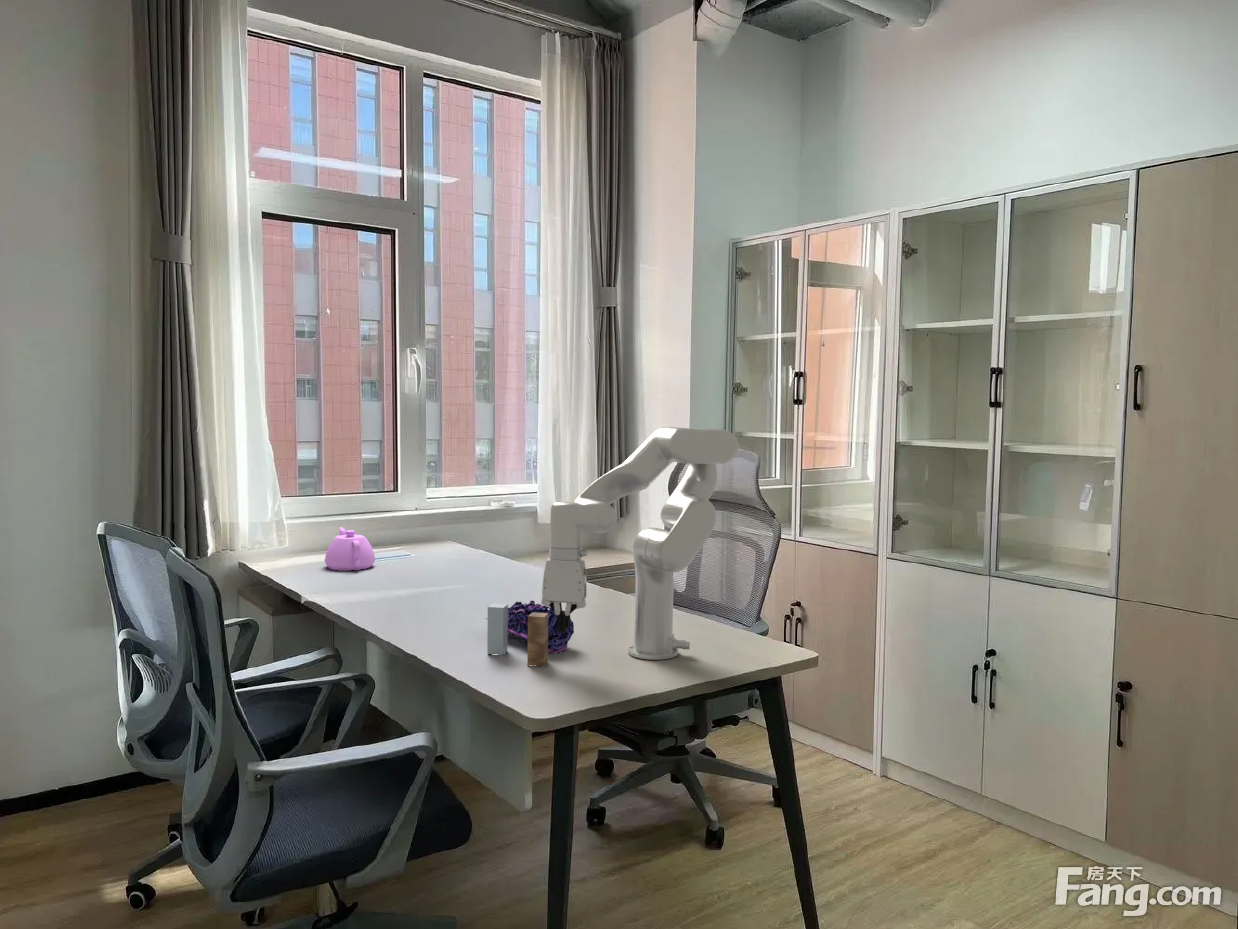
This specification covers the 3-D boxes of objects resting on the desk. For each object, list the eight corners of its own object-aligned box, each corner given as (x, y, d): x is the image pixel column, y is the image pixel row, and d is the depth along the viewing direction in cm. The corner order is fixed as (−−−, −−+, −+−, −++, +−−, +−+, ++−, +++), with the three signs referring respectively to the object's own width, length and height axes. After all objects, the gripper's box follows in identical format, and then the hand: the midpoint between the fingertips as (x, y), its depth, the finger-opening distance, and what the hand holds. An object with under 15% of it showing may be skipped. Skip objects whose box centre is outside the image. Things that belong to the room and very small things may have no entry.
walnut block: (547, 662, 221) (548, 613, 220) (543, 667, 217) (544, 617, 216) (531, 661, 222) (532, 612, 221) (527, 666, 218) (527, 616, 217)
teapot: (383, 570, 333) (383, 533, 332) (333, 574, 324) (333, 536, 323) (363, 559, 354) (363, 524, 353) (316, 563, 345) (316, 527, 344)
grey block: (507, 651, 230) (507, 604, 229) (503, 655, 226) (503, 607, 225) (492, 650, 230) (492, 603, 229) (487, 654, 226) (487, 607, 225)
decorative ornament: (535, 629, 223) (471, 604, 246) (544, 668, 226) (480, 639, 249) (577, 607, 231) (512, 584, 254) (585, 645, 234) (520, 619, 257)
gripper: (599, 553, 219) (596, 629, 220) (538, 550, 221) (536, 625, 222) (593, 558, 211) (590, 637, 213) (530, 554, 214) (528, 632, 215)
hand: (562, 630), depth 217 cm, fingers closed
